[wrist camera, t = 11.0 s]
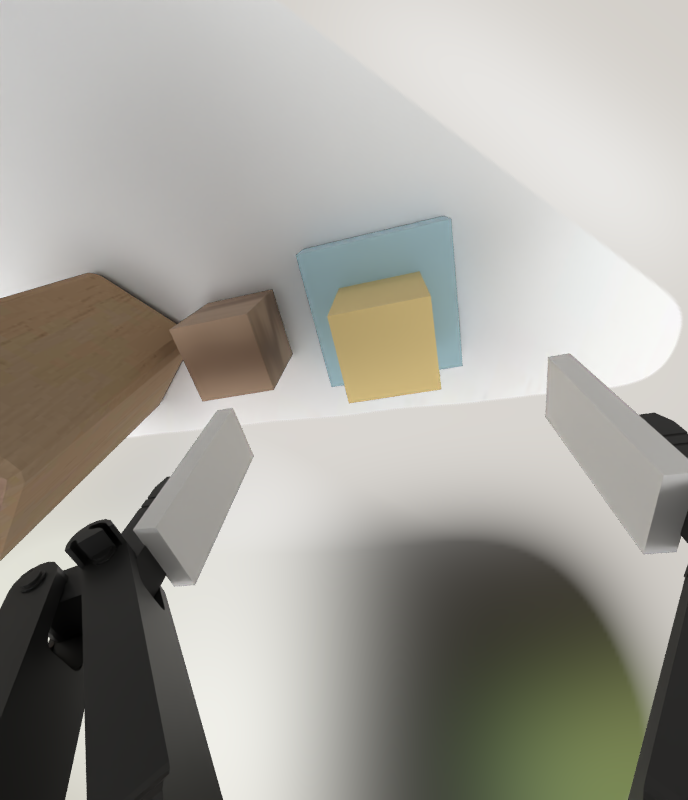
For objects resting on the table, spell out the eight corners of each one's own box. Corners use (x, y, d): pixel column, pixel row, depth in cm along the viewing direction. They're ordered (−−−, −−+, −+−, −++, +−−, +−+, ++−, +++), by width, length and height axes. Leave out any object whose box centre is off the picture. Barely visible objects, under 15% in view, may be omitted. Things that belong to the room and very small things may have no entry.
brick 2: (338, 288, 28) (327, 316, 22) (419, 271, 27) (430, 295, 21) (355, 360, 31) (349, 403, 25) (428, 347, 29) (441, 389, 23)
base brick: (303, 249, 29) (295, 255, 27) (444, 215, 27) (451, 218, 25) (335, 372, 35) (331, 387, 32) (456, 351, 33) (462, 365, 30)
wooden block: (65, 351, 36) (-224, 503, 19) (93, 265, 32) (-253, 359, 14) (160, 406, 38) (-20, 586, 21) (199, 333, 34) (10, 485, 17)
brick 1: (208, 303, 32) (169, 329, 26) (272, 289, 31) (246, 313, 25) (233, 364, 35) (202, 401, 29) (292, 353, 34) (273, 389, 28)
